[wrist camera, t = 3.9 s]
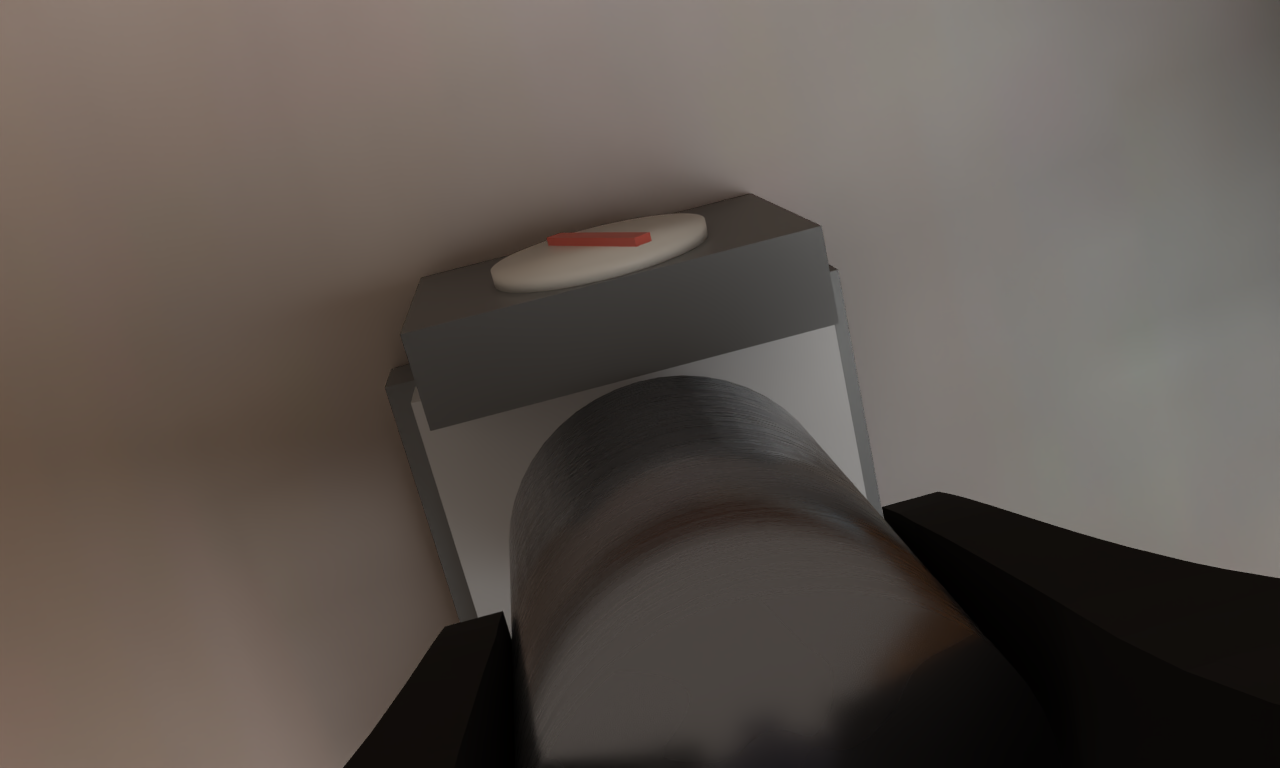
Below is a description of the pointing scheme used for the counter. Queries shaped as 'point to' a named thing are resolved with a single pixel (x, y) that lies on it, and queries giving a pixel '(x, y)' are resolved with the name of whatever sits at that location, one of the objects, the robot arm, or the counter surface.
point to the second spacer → (736, 605)
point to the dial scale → (611, 357)
